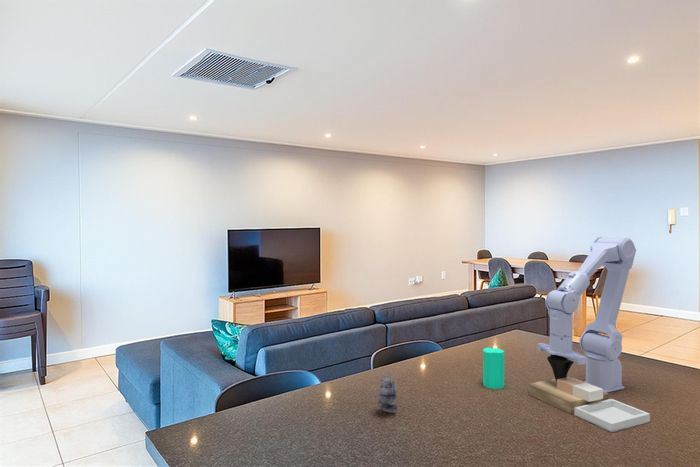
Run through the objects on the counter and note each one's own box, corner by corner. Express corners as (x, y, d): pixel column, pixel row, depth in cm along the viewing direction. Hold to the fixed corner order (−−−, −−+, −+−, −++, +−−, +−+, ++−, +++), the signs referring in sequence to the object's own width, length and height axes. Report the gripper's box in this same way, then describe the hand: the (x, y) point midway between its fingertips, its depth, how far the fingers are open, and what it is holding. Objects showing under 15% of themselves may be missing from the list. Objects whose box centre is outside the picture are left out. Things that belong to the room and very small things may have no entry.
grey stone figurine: (399, 410, 117) (399, 371, 116) (394, 418, 112) (394, 378, 111) (379, 407, 118) (379, 369, 118) (374, 415, 113) (374, 376, 113)
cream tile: (585, 391, 121) (586, 382, 121) (602, 398, 116) (603, 389, 116) (572, 394, 119) (572, 385, 119) (589, 401, 114) (589, 392, 114)
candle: (505, 389, 130) (505, 348, 130) (484, 388, 132) (484, 347, 131) (502, 382, 136) (503, 342, 136) (482, 380, 137) (482, 341, 137)
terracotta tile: (570, 385, 125) (570, 376, 125) (585, 391, 121) (585, 382, 121) (556, 388, 123) (556, 379, 123) (572, 394, 119) (572, 385, 119)
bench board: (564, 386, 132) (564, 376, 132) (608, 404, 120) (608, 393, 120) (528, 394, 127) (528, 383, 127) (570, 413, 114) (570, 402, 114)
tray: (611, 406, 119) (611, 398, 119) (649, 421, 110) (650, 413, 109) (574, 415, 113) (574, 407, 113) (611, 432, 104) (611, 424, 104)
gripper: (529, 329, 130) (529, 376, 130) (572, 342, 117) (572, 394, 117) (548, 327, 133) (547, 373, 133) (592, 339, 119) (591, 390, 120)
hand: (560, 382), depth 125 cm, fingers closed
